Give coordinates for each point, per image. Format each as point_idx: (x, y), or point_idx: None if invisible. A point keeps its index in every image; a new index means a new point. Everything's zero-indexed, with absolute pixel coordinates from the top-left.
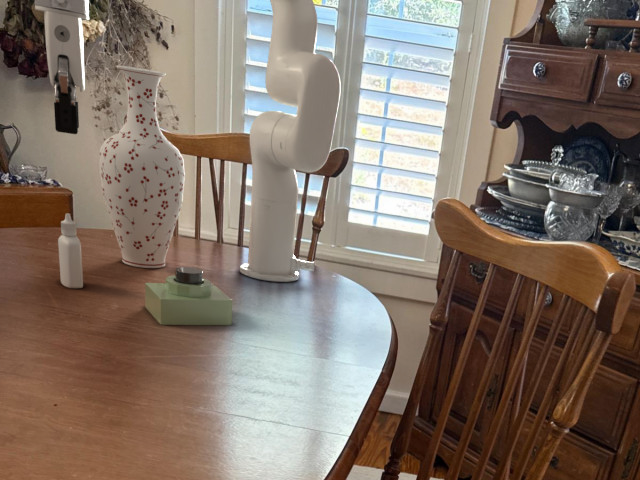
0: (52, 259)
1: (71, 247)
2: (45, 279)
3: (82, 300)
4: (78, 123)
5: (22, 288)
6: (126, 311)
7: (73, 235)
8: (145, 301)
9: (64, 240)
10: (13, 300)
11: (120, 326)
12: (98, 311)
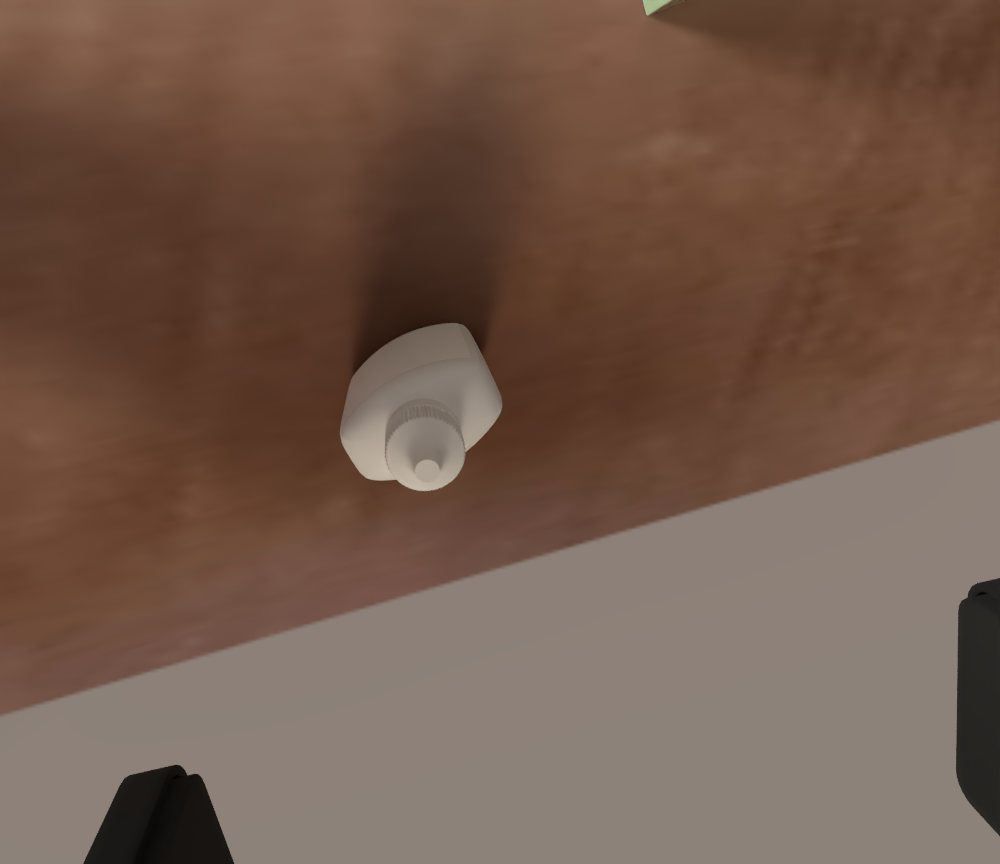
0: (7, 545)
1: (499, 393)
2: None
3: (628, 285)
4: (152, 809)
5: (547, 510)
6: (728, 90)
7: (447, 407)
8: (658, 9)
9: (479, 436)
10: (710, 491)
11: (931, 84)
12: (759, 198)
